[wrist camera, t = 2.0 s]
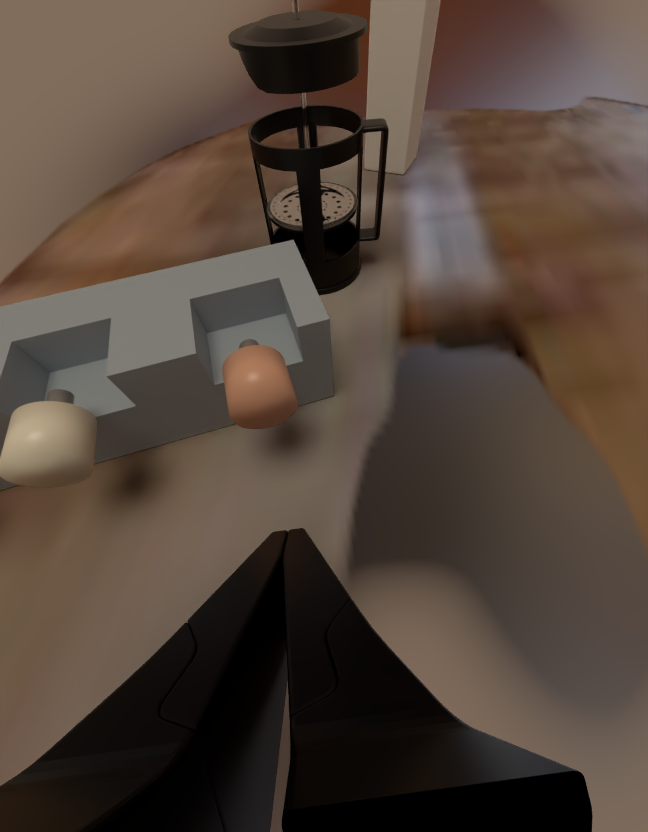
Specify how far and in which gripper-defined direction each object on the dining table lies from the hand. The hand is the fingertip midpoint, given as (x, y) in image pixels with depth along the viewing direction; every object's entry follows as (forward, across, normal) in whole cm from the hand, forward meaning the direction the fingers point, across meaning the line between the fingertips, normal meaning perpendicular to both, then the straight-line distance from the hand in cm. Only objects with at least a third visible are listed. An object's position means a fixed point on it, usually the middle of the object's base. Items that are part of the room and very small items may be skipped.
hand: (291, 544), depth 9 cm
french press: (+30, -4, -13) cm, 33 cm away
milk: (+46, -16, -29) cm, 57 cm away
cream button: (+11, +13, -1) cm, 17 cm away
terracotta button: (+12, +2, -2) cm, 13 cm away
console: (+19, +14, -2) cm, 24 cm away
